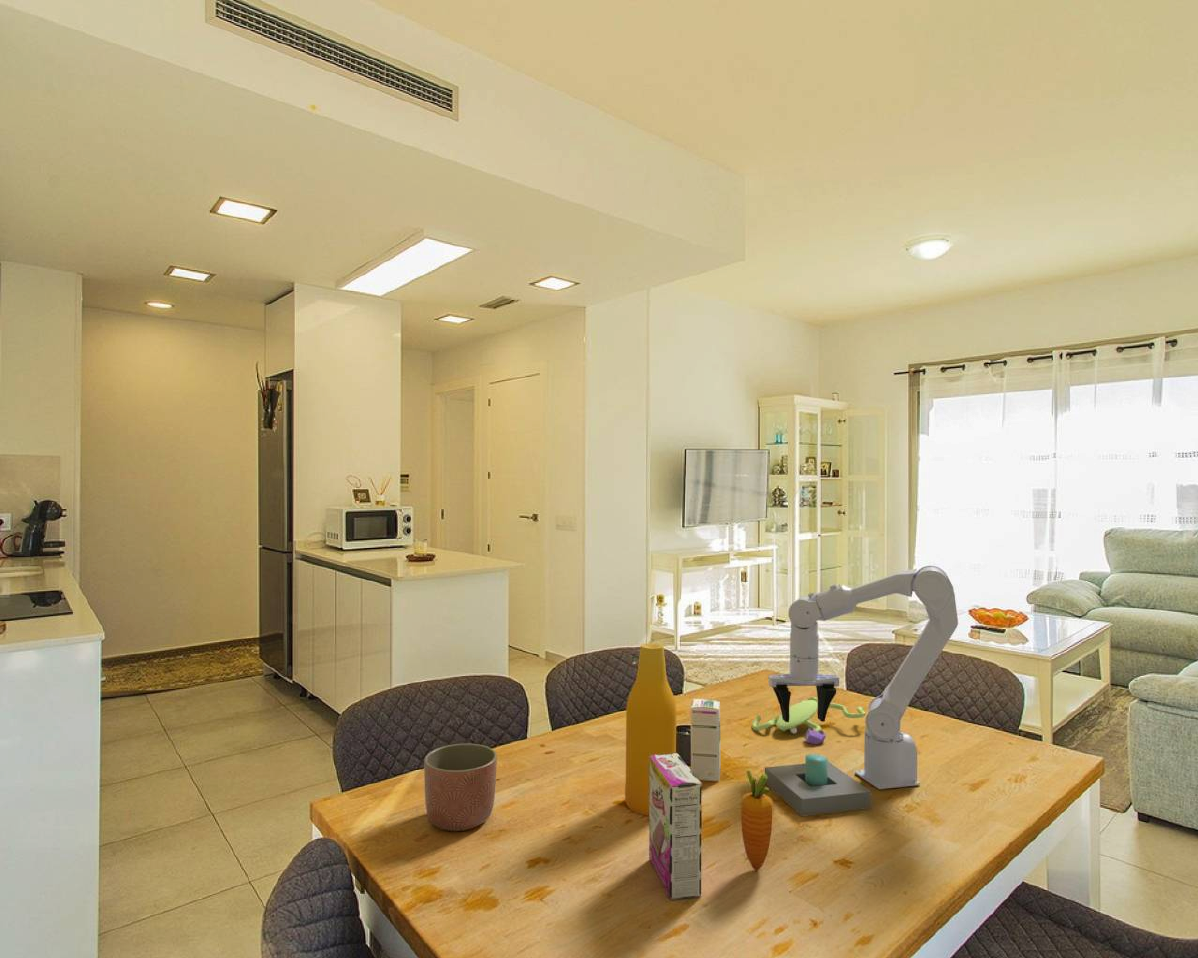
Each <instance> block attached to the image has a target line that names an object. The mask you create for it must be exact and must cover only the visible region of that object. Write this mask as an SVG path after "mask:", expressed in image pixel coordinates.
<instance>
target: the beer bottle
mask: <svg viewBox="0 0 1198 958" xmlns="http://www.w3.org/2000/svg"><path fill="white" fill-rule="evenodd" d="M639 648H640V649H639V657H638V665H637V666H638V667H637V673H636V678H635V682H634V684H633V685H632V688H631V690H630V692H629V695H628V696H627V697H628V698H627V702H626V709H625V710H626V712H625V715H626V716H625V718H626V723H625V724H626V725H625V726H626V727H625V728H626V730H625V783H624V784H625V785H624V786H625V787H624V798H625V799H624V800H625V805H626V806H627V808H628V809H629V810H630V811H632V812H633V813H636V814H639V815H642V816H649V812H650V809H649V808H650V803H649V763H650V762H649V756H651V755H656V754H657V755H661V754H674V753H677V704H676V699H675V696H674V693H673V691H672V689H671V686H670V684H669V682H668V677H667V671H666V670H667V669H666V668H667V667H666V659H665V648H664V645H663V644H660V643H652V642H650V643H649V642H648V643H642V644H640V647H639Z"/></svg>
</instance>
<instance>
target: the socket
mask: <svg viewBox="0 0 1198 958" xmlns="http://www.w3.org/2000/svg"><path fill="white" fill-rule="evenodd" d="M805 765H806V763H797V764H786V765H778V766H767V767H766V766H765V767H764V774H766V775H767V781H766V782H765V784H764V785H766V786H767V787H768V788H770V789H771V790H772V791H773V792H774V793H776V794H777V795H778V796H779V797H780V798H781V799H782V800H784V801H785V802H786V803H787V804H788V805H789V806H790V807H791V808H792V809H793V810H794V811H796V812H797V813H798V815H800V816H801V817H808V816H814V815H815V816H817V815H824V814H832V813H833V814H834V813H840V812H849V811H857V810H858V811H859V810H866V809H867V810H868V809H872V791H871V790H870V789H868V788H867V787H866V786H864V785H863V784H861V783H860V782H859V781H857V780H855V779H854V778H852V777H851V776H850V775H848V774H847V773H845V772H844V771H842V769H840V768H838V767H837V766H836V765H834V764H832V763H831V762H830V761H828V774H827V785H823V786H814V787H810V786H809V785H808V784H807V783H805Z"/></svg>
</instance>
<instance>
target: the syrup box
mask: <svg viewBox="0 0 1198 958" xmlns="http://www.w3.org/2000/svg"><path fill="white" fill-rule="evenodd" d="M690 770H691V771H692V772H693V773H694V775H695V776H696V777H697V778H698V780H699V781H707V782H709V781H710V782H720V778H721V702H720V700H717V699H716V700H715V699H710V698H693V699H692V703H691V705H690Z"/></svg>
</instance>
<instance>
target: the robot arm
mask: <svg viewBox="0 0 1198 958" xmlns="http://www.w3.org/2000/svg"><path fill="white" fill-rule="evenodd" d="M913 592H914V594H915V595H916V597H917V598H918V599H919V601H920V602H921V604H923V605H924V607H925V611H926V614H927V616H928V618H929V620H928V621H927V623H926V625H925V627H924V628H923V630H922V631H921V633H920V634H919V636H918V637H917V639H916V640H915V642H914V644H913V645H912V647H911V649H910V651H909V652H908V653H907V655H906V657H905V658H904V660H903V661H902V663H901V664H900V666H899V668H898V669H897V671H896V673H895V674H894V676H893V678H892V679H891V681H890V682H889V684H888V685H886V687H885V688H884V690H883V691H882V693H881V694H880V695H878V696H875V697H874V698H873V699H872V700H871V701H870V702H869V705H868V712H867V714H866V715H865V722H864V723H865V726H866V728H865V729H864V746H863V747H864V748H863V749H864V750H863V751H864V753H863V754H864V756H863V757H864V759H863V761H864V763H863V765H864V766H863V767H864V768H863V769H857V770H854V773H855V774H856V775H857V776H858V777H860V778H861V779H862V780H864V781H866V782H867V783H869V785H872V786H873V787H874V788H876V789H878V790H886V789H887V790H888V789H894V788H895V789H896V788H906V787H914V786H920V785H921V782H920V781H918V748H917V745H916V743H915V739H913V737H912V736H911V735H909V734H908V733H904V732H902V730H901V721H902V718H903V716H904V715H905V713H906V711H907V709H908V707H909V705H910V702H911V700H912V699H913V697H914V696H915V693H917V691H918V690H919V687H920V686H921V685H922V683H923V682H924V679H926V676H927V675H928V673H929V672H930V670H931V669H932V668H933V666H934V664H935V662H936V661H937V660H938V657H939V656H940V655H941V653H942V652H943V650H944V649H945V647H946V645H947V644H948V642H949V641H950V638H951V637H952V636H953V634H954V633H955V631H956V630H957V628H958V625H959V618H958V611H957V602H956V595H955V592H954V585H953V584H952V582H951V579H950V578H949V576H948V574H947V572H945V571H944V570H943V569H942V568H941V567H939V566H935V565H927V566H926V565H925V566H922V567H921V568H919V569H918V568H911V569H907V570H903V571H902V570H901V571H899V572H895V573H893V574H890V575H887V576H884V577H882V578H879V579H876V580H873V581H870V582H867V583H865V584H862V585H858V586H856V587H852V588H850V587H848V586H847V585H843V584H842V585H837V583H836V584H835V583H834V584H832V585H830V586H829V589H827V590H826V589H825V590H823V591H820V592H817V593H815V592H810V593H809V592H808V594H807V596H801V597H799V598H797V599H796V600H795V601H794V602H793V603H792V604H791V605H790V606H789V609H788V614H787V615H788V618H789V620H790V634H789V635H790V636H789V637H790V638H789V673H783V674H782V673H781V674H773V675H768V685H769V686H770V687H771V688H772V690H773V691H774V694H775V696H776V698H777V701H778V704H779V707H780V711H781V714H782V719H783V720H784V721H785V722H789V707H790V701H791V696H792V692H791V691H790V690H789V687H804V686H805V687H814V686H815V688H816V695H817V697H816V698H817V699H818V701H817V702H818V708H817V711H816V713H817V719H818V721H820V722H821V723H825V722H826V717H827V714H828V711H829V709H830V708H829V705H830V703H832V701H833V699H834V698H835V696H836V695H837V689H836V688H837V687H840V677H839V676H838V675H836V674H823V673H822V674H821V673H819V638H820V637H819V633H818V631H819V630H818V629H819V628H818V627H819V623H818V621H824V622H825V621H828V620H831V619H834V618H838V617H842V616H844V615H848V614H851V613H854V612H855V609H856V606H857V605H858V604H861V603H865V602H869V601H872V600H876V599H879V598H883V597H887V596H891V595H893V594H899V595H901V596H902V595H903V596H906V597H909V598H912V596H913ZM835 687H836V688H835Z"/></svg>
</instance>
